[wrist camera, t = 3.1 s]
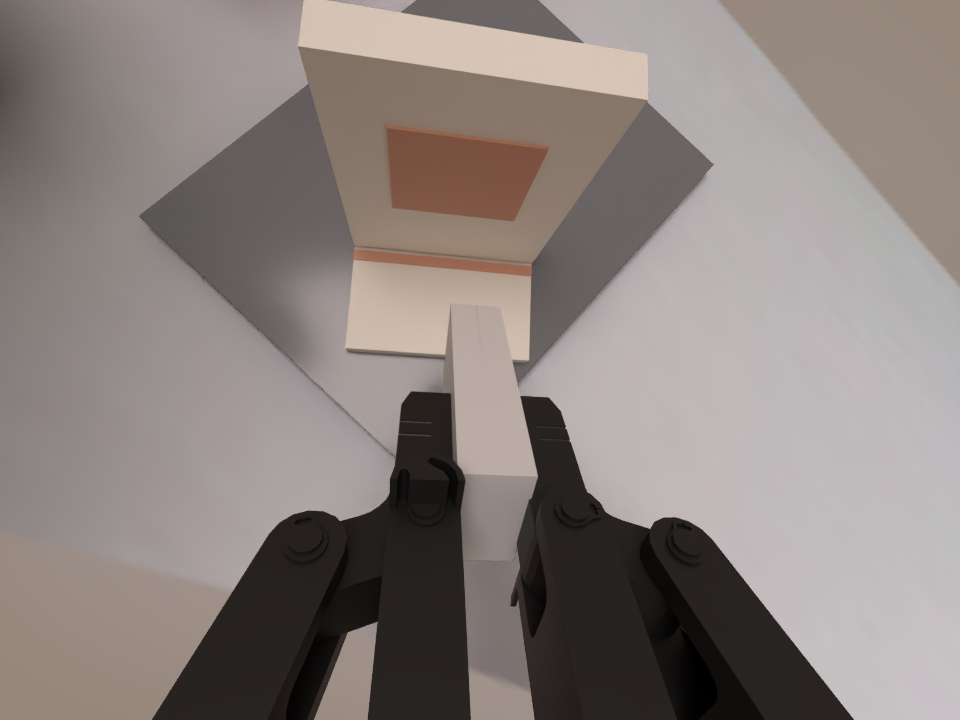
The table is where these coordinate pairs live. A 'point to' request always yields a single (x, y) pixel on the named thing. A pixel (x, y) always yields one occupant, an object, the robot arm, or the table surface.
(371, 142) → the cream flat block
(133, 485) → the table surface
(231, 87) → the table surface
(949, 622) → the table surface
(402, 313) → the base
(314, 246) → the slate board
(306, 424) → the table surface
